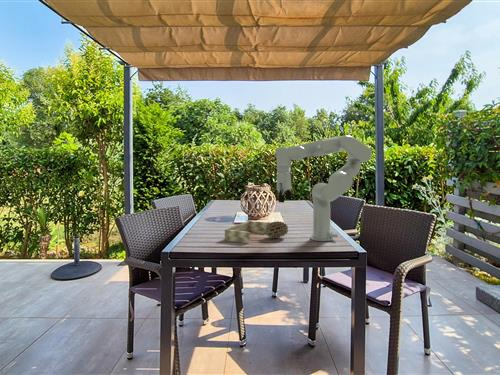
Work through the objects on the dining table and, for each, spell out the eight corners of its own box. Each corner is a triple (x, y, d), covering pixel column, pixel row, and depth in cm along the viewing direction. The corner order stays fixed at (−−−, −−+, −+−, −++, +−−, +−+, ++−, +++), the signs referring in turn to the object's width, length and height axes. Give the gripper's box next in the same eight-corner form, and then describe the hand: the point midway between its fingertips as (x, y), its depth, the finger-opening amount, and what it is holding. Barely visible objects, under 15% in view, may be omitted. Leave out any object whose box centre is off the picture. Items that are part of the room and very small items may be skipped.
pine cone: (286, 235, 191) (286, 219, 190) (289, 240, 181) (289, 222, 180) (249, 237, 189) (249, 220, 188) (250, 241, 180) (250, 223, 179)
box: (270, 232, 200) (270, 222, 200) (249, 243, 176) (249, 232, 175) (248, 229, 208) (248, 220, 207) (224, 240, 183) (224, 229, 182)
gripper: (283, 169, 185) (284, 198, 187) (270, 171, 170) (272, 203, 172) (296, 168, 182) (297, 198, 183) (284, 170, 167) (285, 203, 168)
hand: (285, 200), depth 178 cm, fingers open, 9 cm apart
